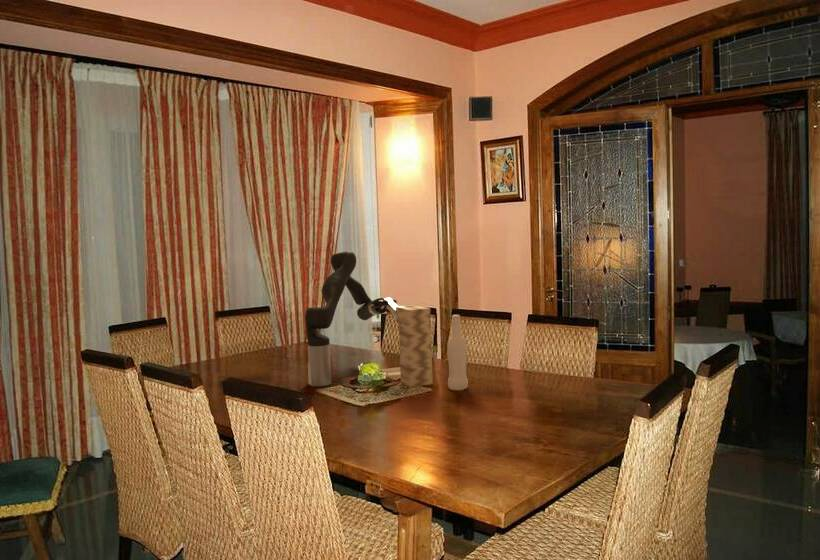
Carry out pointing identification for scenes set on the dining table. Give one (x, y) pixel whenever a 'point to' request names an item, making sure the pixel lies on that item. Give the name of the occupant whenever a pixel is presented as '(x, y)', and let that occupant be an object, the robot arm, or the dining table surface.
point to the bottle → (457, 357)
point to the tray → (393, 372)
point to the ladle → (393, 308)
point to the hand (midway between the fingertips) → (391, 302)
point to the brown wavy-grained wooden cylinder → (415, 345)
